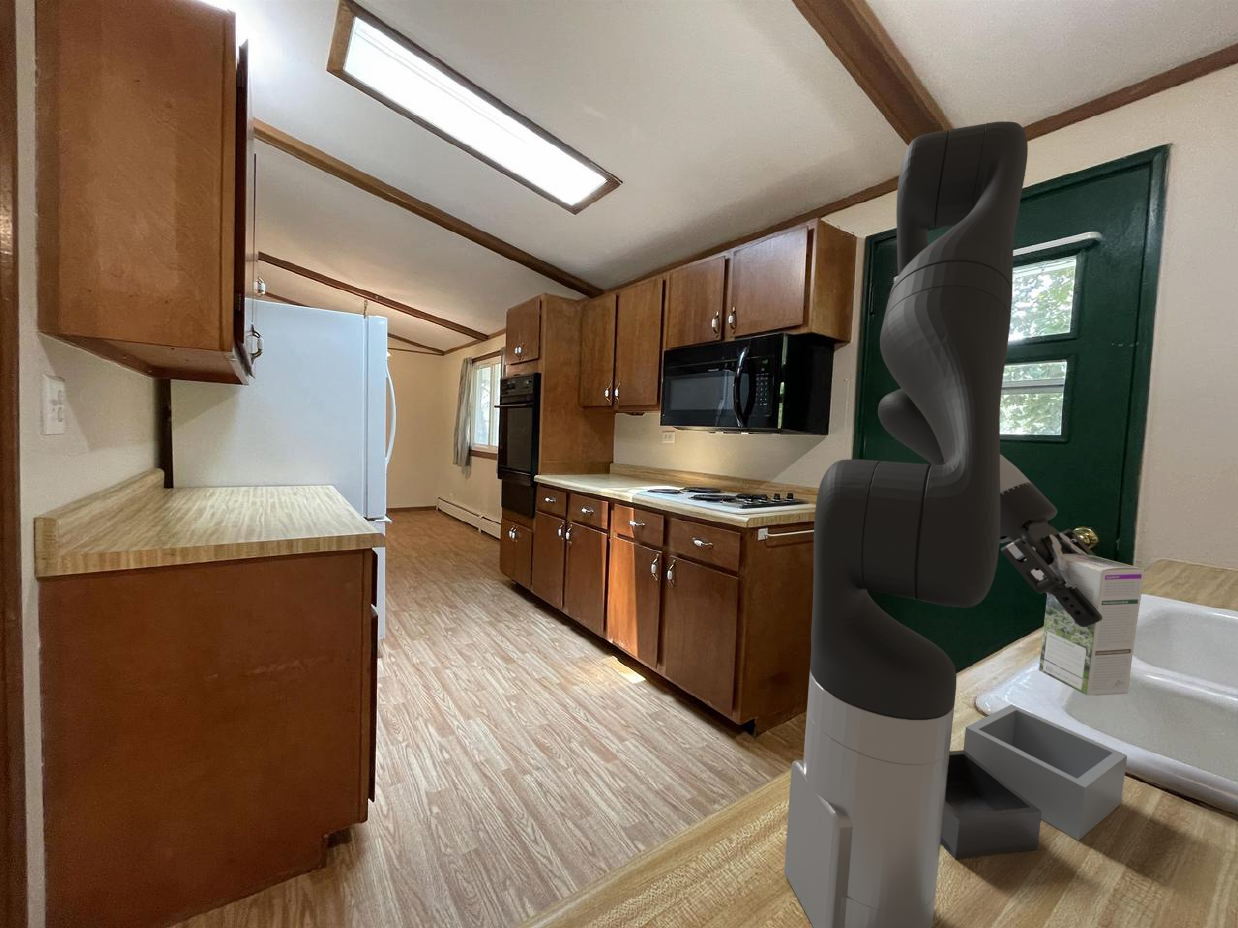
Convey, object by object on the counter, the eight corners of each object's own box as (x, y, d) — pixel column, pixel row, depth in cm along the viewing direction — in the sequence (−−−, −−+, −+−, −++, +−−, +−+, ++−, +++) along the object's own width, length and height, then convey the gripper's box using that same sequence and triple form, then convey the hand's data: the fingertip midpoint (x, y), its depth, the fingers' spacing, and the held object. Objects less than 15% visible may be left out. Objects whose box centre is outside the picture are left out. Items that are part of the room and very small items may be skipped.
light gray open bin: (1078, 840, 44) (1085, 787, 44) (961, 772, 53) (965, 726, 52) (1120, 803, 49) (1127, 755, 48) (1006, 746, 57) (1011, 704, 57)
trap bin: (955, 858, 42) (959, 819, 42) (889, 788, 50) (892, 755, 49) (1037, 849, 43) (1041, 811, 43) (960, 782, 51) (963, 749, 51)
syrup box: (1130, 694, 56) (1149, 567, 54) (1085, 697, 55) (1102, 567, 53) (1077, 668, 61) (1092, 552, 60) (1035, 670, 60) (1049, 553, 59)
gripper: (997, 482, 59) (1117, 614, 50) (1053, 478, 66) (1167, 593, 57) (945, 518, 64) (1046, 643, 55) (1002, 511, 71) (1100, 621, 62)
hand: (1107, 617), depth 56 cm, fingers closed on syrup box, 7 cm apart
